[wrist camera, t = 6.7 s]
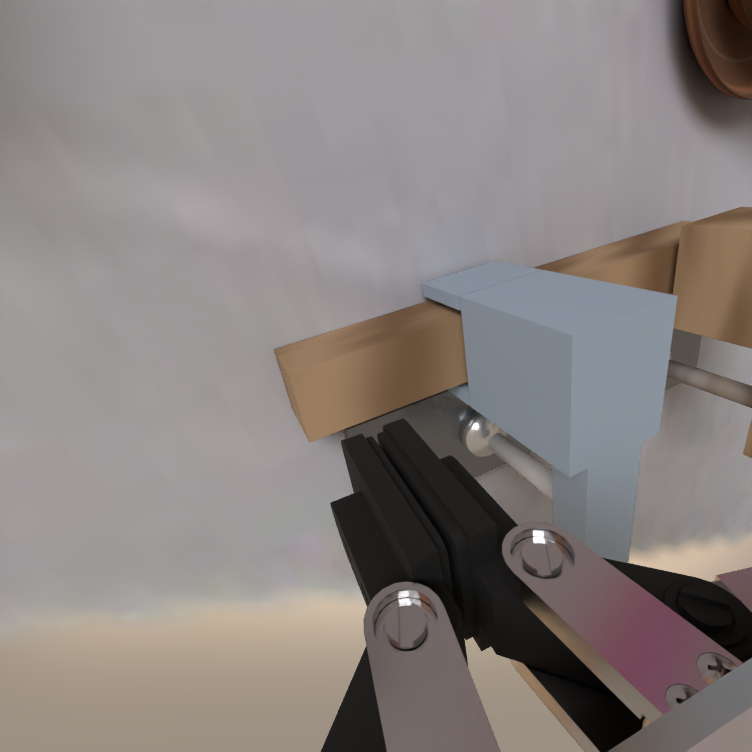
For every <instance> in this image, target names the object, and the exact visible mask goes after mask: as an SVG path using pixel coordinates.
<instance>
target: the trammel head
mask: <svg viewBox="0 0 752 752" xmlns="http://www.w3.org/2000/svg"><path fill="white" fill-rule="evenodd" d="M422 289H423V296H424V297H427V298H429V299H432V300H434V301H437V302H439V303H442V304H445V305H447V306H450V307H452V308H455V309H457V310H461V314H462V324H463V335H464V345H465V355H466V365H467V375H468V382H466V383H463V384H460V385H458V386H455V387H453V388H450V389H447V390H448V391H450V392H451V393H452V394H454V395H455V396H456V397H458V398H459V399H461V400H462V401H463V402H465V403H466V404H468V405H469V406H471V407H472V408H473V409H474V410H476V411H477V412H479V413H480V414H481V415H483V416H484V417H486V418H487V419H488V420H490V421H491V422H492V423H494V424H495V425H497V426H498V427H499V428H501V429H502V430H504V431H505V432H506V433H508V434H509V435H511V436H512V437H513V438H515V439H516V440H517V441H519V442H520V443H522V444H523V445H524V446H526V447H527V448H529V449H530V450H531V451H533V452H534V453H535V454H537V455H538V456H540V457H541V458H542V459H544V460H545V461H547V462H548V463H549V464H551V465H552V466H553V471H552V470H550V469H549V468H548V467H546V466H545V465H543V464H542V463H541V462H539V461H538V460H537V459H535V458H534V457H533V456H531V455H530V454H529V453H527V452H526V451H524V450H523V449H522V448H520V447H519V446H518V445H516V444H515V443H514V442H512V441H511V440H510V439H508V438H507V437H505V436H504V435H503V434H501V433H496V434H494V435H493V436H492V437H491V438H490V439H489V442H488V448H489V449H490V450H491V451H492V452H494V453H495V454H496V455H497V456H499V457H500V458H501V459H502V460H503V461H505V462H506V463H507V464H508V465H510V466H511V467H512V468H513V469H514V470H516V471H517V472H518V473H519V474H521V475H522V476H523V477H524V478H525V479H527V480H528V481H529V482H530V483H532V484H533V485H534V486H535V487H536V488H538V489H539V490H540V491H541V492H543V493H544V494H545V495H546V496H548V497H549V498H550V499H551V500H552V525H554V526H557V527H559V528H561V529H563V530H564V531H566V532H568V533H569V534H571V535H572V536H573V537H575V538H576V539H577V540H579V541H580V542H581V543H583V544H584V545H586V546H587V547H588V548H590V549H591V550H592V551H594V552H595V553H596V554H598V555H599V556H600V557H602V558H606V559H611V560H616V561H620V562H625V563H627V562H628V560H629V551H630V543H631V534H632V525H633V517H634V508H635V499H636V491H637V482H638V473H639V465H640V456H641V447H642V442H643V441H645V440H647V439H649V438H651V437H653V436H655V435H657V434H659V430H660V423H661V415H662V408H663V400H664V393H665V386H666V378H667V371H668V363H669V356H670V349H671V341H672V334H673V326H674V319H675V312H676V304H677V297H678V296H676V295H671V294H666V293H661V292H656V291H650V290H645V289H640V288H635V287H630V286H624V285H619V284H614V283H609V282H603V281H598V280H593V279H588V278H583V277H577V276H572V275H567V274H562V273H557V272H551V271H546V270H541V269H536V268H531V267H525V266H520V265H515V264H510V263H505V262H499V261H494V262H491V263H487V264H484V265H481V266H477V267H474V268H471V269H467V270H464V271H461V272H457V273H454V274H451V275H447V276H444V277H441V278H437V279H434V280H431V281H427V282H424V283H422Z"/></svg>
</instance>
